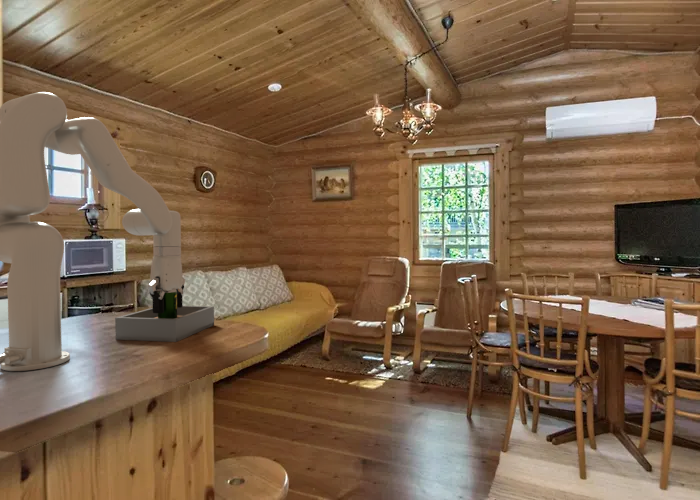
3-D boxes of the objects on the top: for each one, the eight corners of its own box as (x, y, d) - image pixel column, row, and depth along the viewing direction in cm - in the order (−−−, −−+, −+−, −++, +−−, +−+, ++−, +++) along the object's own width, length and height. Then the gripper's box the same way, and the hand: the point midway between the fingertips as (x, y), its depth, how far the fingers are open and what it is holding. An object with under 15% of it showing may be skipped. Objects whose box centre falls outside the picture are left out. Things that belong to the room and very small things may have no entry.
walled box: (175, 341, 116) (175, 319, 116) (115, 339, 119) (115, 317, 119) (214, 325, 138) (213, 306, 138) (162, 323, 141) (162, 305, 141)
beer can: (160, 331, 125) (160, 289, 124) (155, 328, 129) (154, 288, 128) (180, 328, 128) (179, 288, 128) (174, 325, 132) (173, 286, 132)
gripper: (172, 251, 137) (172, 305, 138) (137, 253, 120) (138, 315, 121) (194, 251, 136) (194, 305, 136) (161, 253, 119) (162, 315, 119)
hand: (168, 310), depth 129 cm, fingers open, 9 cm apart
